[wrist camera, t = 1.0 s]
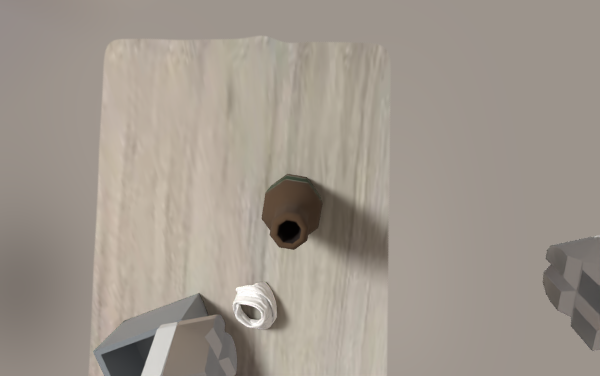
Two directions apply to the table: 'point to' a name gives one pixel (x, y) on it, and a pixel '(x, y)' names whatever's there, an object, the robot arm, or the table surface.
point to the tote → (142, 337)
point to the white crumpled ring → (256, 305)
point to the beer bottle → (291, 210)
